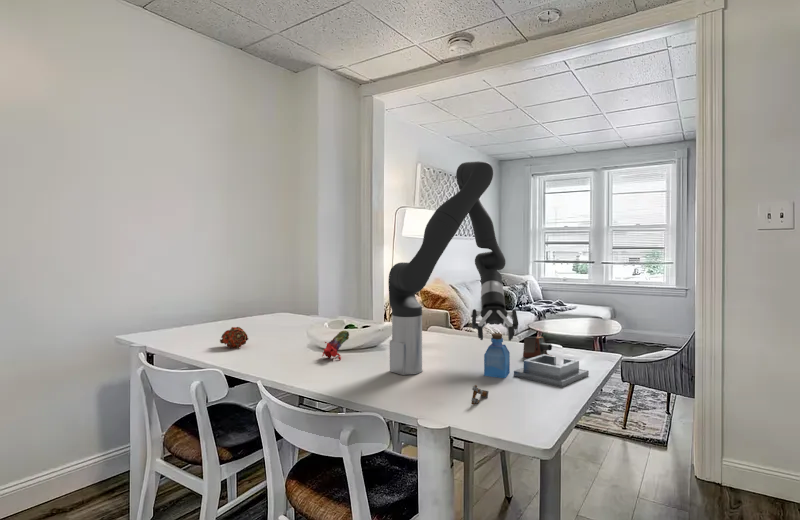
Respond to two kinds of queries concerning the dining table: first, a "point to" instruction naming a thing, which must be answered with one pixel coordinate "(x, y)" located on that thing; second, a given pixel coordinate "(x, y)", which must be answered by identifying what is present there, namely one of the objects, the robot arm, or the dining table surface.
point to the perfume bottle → (497, 358)
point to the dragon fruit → (234, 337)
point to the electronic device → (535, 347)
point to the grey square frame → (551, 370)
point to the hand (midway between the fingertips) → (495, 339)
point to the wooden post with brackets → (479, 391)
